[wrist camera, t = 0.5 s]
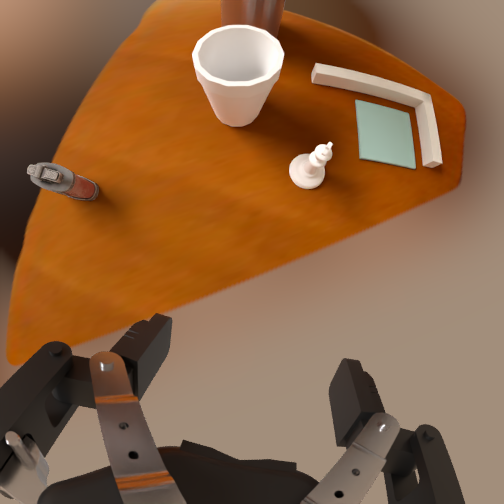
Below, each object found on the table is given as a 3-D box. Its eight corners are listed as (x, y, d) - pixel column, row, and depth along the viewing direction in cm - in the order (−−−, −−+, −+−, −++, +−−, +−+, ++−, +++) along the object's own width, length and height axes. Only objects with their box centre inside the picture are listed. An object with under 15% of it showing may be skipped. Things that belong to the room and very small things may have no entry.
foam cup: (202, 137, 36) (188, 88, 23) (204, 83, 36) (195, 26, 23) (271, 136, 37) (287, 87, 24) (268, 83, 37) (281, 26, 24)
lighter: (55, 192, 35) (16, 179, 25) (62, 171, 35) (25, 154, 25) (94, 205, 36) (56, 192, 26) (102, 182, 36) (66, 163, 26)
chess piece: (330, 168, 37) (358, 143, 27) (312, 196, 37) (337, 177, 27) (300, 148, 37) (320, 116, 27) (282, 175, 37) (297, 149, 27)
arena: (311, 73, 37) (315, 63, 34) (421, 101, 38) (430, 94, 35) (313, 152, 37) (319, 144, 34) (432, 173, 38) (443, 169, 35)
